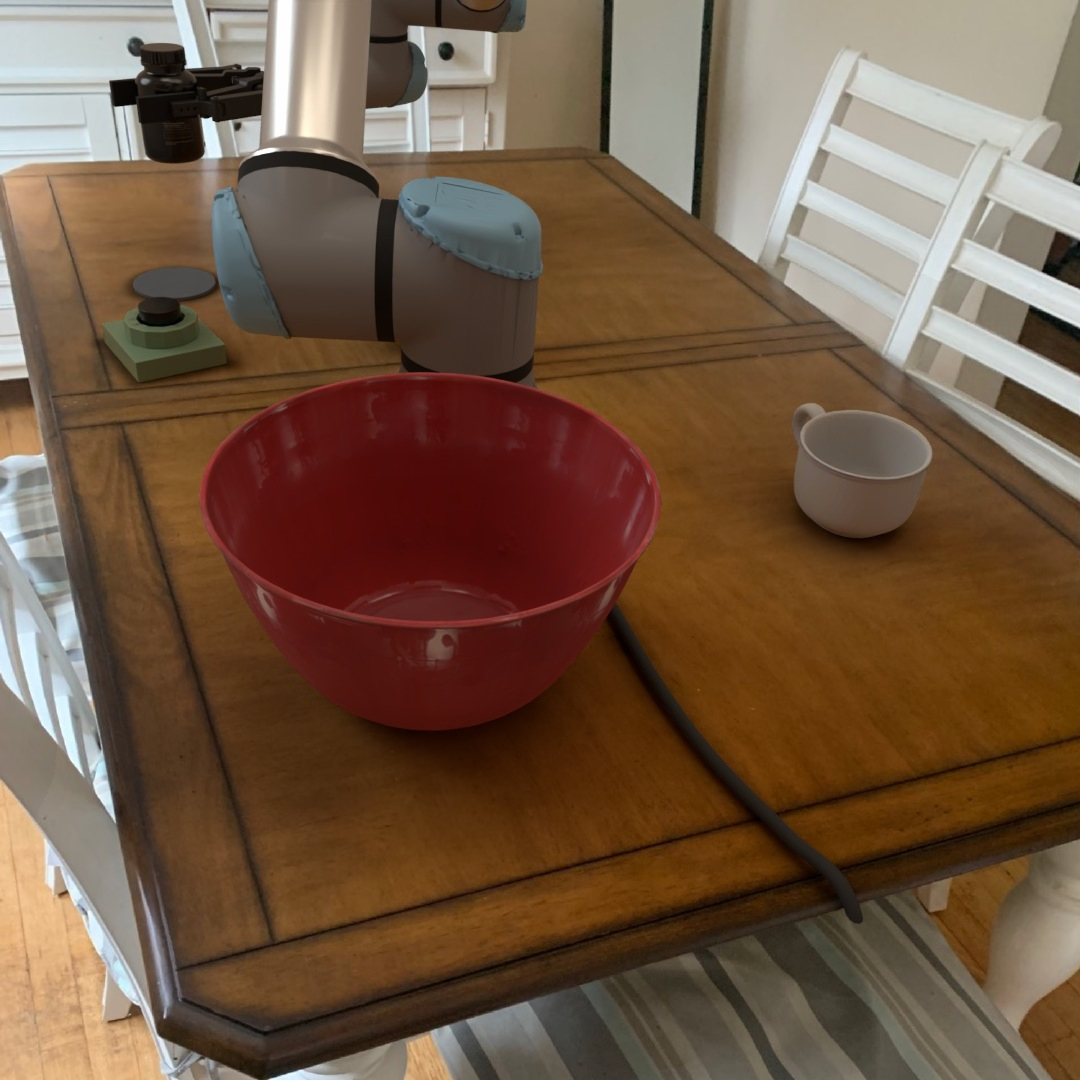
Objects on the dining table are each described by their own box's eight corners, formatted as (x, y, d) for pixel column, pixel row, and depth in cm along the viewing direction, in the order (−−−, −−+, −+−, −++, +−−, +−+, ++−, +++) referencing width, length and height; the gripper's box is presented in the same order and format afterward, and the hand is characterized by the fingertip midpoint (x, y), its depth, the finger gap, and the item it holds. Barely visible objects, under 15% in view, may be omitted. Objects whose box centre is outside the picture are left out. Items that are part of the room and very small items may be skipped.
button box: (227, 364, 114) (223, 327, 111) (138, 383, 109) (132, 345, 107) (189, 326, 120) (185, 290, 118) (104, 343, 116) (98, 306, 113)
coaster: (228, 292, 128) (227, 289, 128) (149, 307, 123) (149, 303, 123) (198, 265, 134) (197, 262, 133) (122, 278, 129) (121, 274, 129)
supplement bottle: (213, 150, 135) (203, 43, 128) (193, 167, 129) (182, 56, 122) (157, 145, 135) (144, 37, 128) (134, 161, 129) (119, 50, 122)
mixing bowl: (496, 893, 64) (512, 691, 55) (129, 696, 74) (92, 501, 65) (695, 629, 84) (729, 451, 75) (385, 505, 95) (383, 336, 86)
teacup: (932, 547, 96) (959, 466, 91) (819, 561, 93) (840, 479, 88) (851, 462, 106) (871, 386, 102) (747, 473, 103) (763, 395, 99)
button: (188, 324, 112) (186, 308, 111) (148, 332, 110) (146, 315, 109) (173, 309, 115) (171, 293, 114) (134, 317, 113) (131, 300, 112)
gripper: (351, 135, 134) (165, 160, 121) (273, 95, 146) (96, 114, 134) (350, 68, 130) (157, 87, 117) (269, 33, 142) (86, 46, 129)
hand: (125, 101), depth 125 cm, fingers closed on supplement bottle, 7 cm apart
